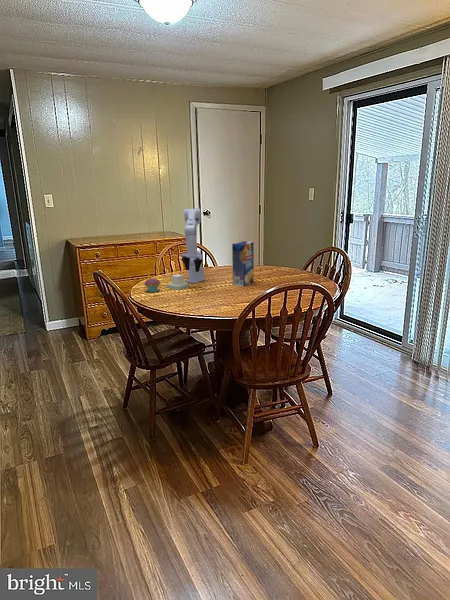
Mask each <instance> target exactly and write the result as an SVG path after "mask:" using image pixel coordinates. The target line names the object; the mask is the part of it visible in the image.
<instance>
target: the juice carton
mask: <svg viewBox="0 0 450 600" xmlns="http://www.w3.org/2000/svg"><path fill="white" fill-rule="evenodd" d="M231 246H232V249H231V250H232V254H231V255H232V285H233V286H237V287H246V286H249V285H251V284H253V283H254V276H255V275H254V267H255V266H254V258H255V257H254V256H255V255H254V248H255V247H254V241H246V240H245V241H243V240H242V241H238V242H235V243H232V245H231Z"/></svg>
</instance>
